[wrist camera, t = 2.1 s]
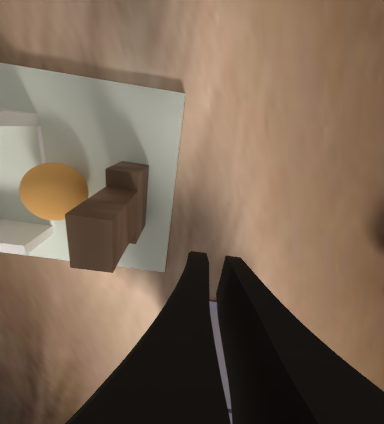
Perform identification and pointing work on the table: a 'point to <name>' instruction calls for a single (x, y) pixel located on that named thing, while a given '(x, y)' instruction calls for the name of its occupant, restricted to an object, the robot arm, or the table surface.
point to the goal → (15, 230)
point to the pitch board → (91, 148)
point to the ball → (52, 190)
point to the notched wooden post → (109, 219)
